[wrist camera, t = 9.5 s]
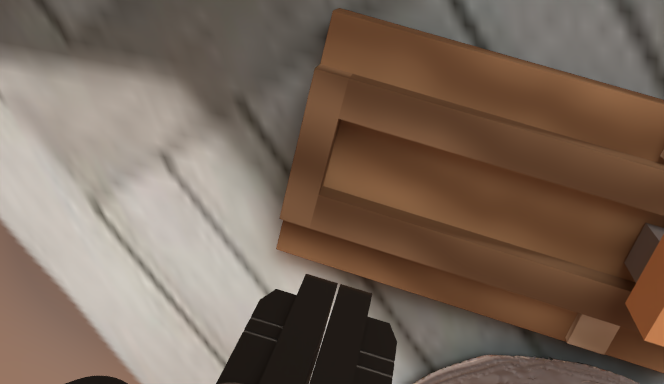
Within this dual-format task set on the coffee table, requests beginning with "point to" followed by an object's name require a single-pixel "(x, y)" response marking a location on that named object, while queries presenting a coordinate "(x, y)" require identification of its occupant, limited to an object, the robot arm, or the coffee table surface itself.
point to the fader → (648, 283)
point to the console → (478, 182)
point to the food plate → (522, 372)
